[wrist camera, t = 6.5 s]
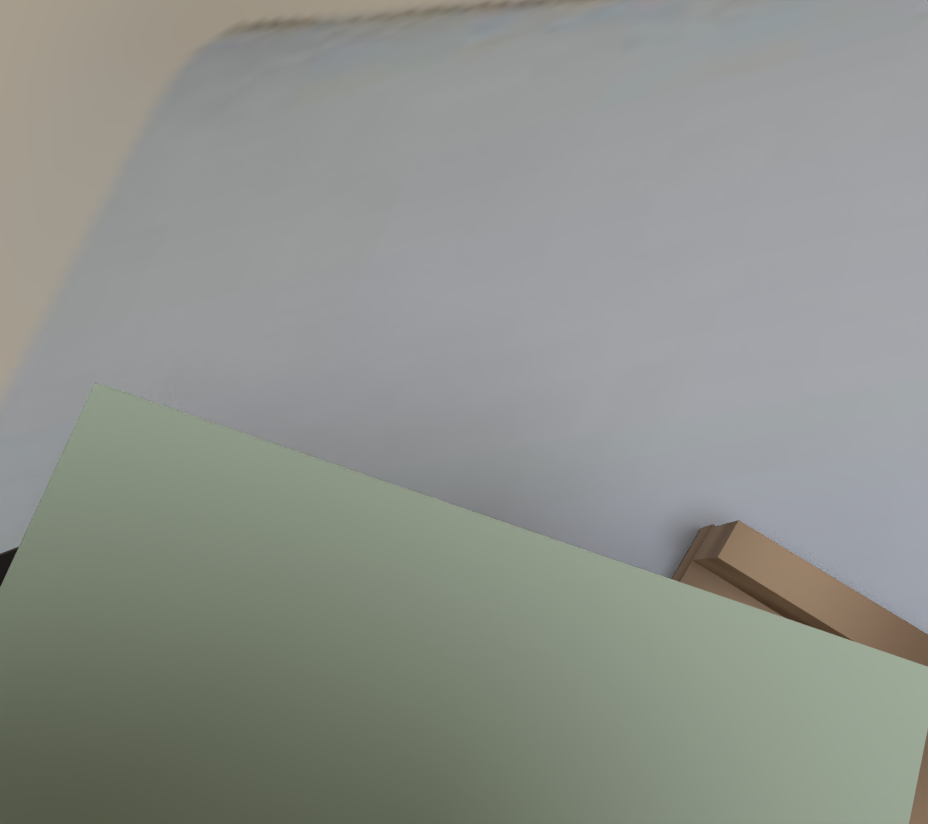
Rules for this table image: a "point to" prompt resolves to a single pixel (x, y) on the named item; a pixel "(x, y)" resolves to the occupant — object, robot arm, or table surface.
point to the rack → (800, 602)
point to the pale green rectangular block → (398, 661)
